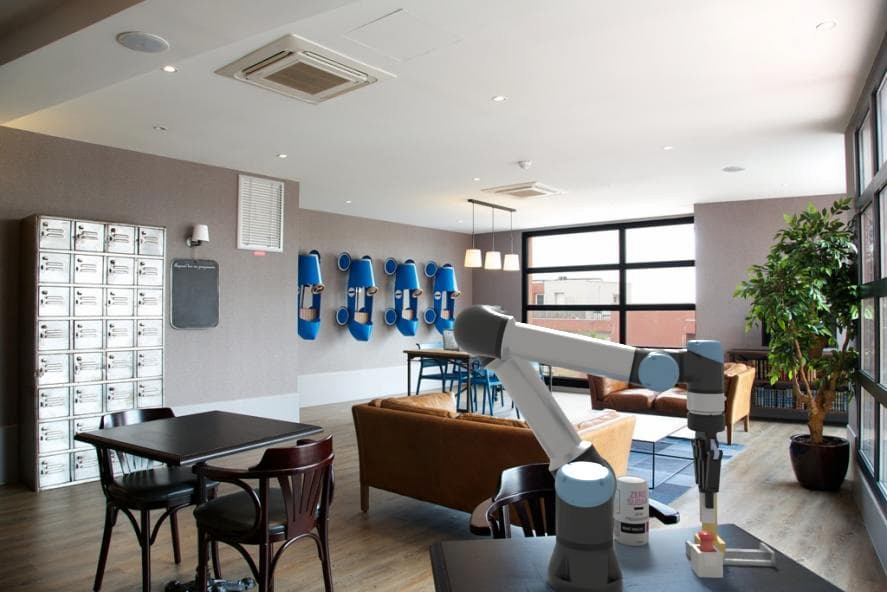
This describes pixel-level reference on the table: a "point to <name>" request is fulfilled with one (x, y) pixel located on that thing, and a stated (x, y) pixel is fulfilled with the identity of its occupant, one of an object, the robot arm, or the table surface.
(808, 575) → the table surface
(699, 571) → the white button housing
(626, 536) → the supplement can
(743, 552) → the rail
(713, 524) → the sliding lever handle
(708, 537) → the button
